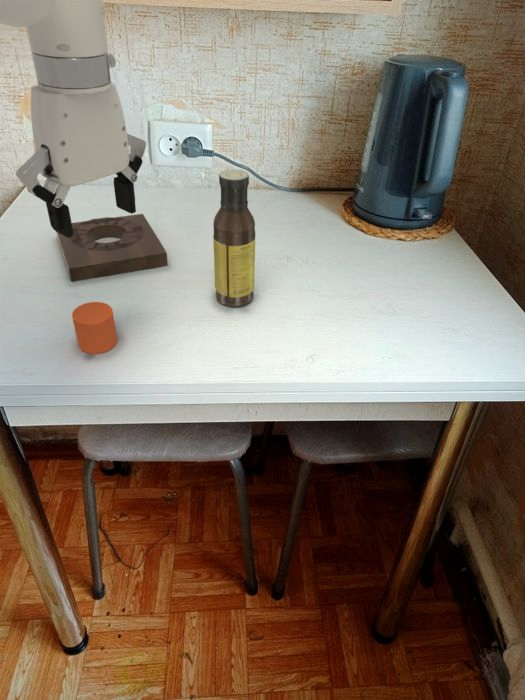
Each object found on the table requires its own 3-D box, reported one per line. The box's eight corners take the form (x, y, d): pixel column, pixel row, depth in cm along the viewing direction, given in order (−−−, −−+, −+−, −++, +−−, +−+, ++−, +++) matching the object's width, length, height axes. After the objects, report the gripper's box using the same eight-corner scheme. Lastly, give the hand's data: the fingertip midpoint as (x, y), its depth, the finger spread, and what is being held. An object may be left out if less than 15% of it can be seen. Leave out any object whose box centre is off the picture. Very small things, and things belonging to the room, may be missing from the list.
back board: (71, 281, 82) (68, 268, 80) (57, 236, 93) (54, 223, 92) (167, 265, 88) (166, 252, 86) (143, 224, 99) (142, 212, 97)
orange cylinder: (81, 357, 68) (75, 327, 65) (75, 335, 72) (69, 305, 68) (120, 349, 70) (116, 319, 67) (112, 327, 73) (108, 298, 70)
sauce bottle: (259, 292, 83) (266, 170, 70) (245, 312, 78) (251, 186, 66) (222, 283, 84) (223, 162, 72) (207, 302, 80) (205, 177, 67)
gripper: (115, 57, 61) (129, 194, 72) (-25, 75, 50) (17, 233, 61) (158, 68, 58) (166, 210, 69) (18, 90, 47) (55, 255, 58)
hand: (96, 221), depth 65 cm, fingers open, 9 cm apart
